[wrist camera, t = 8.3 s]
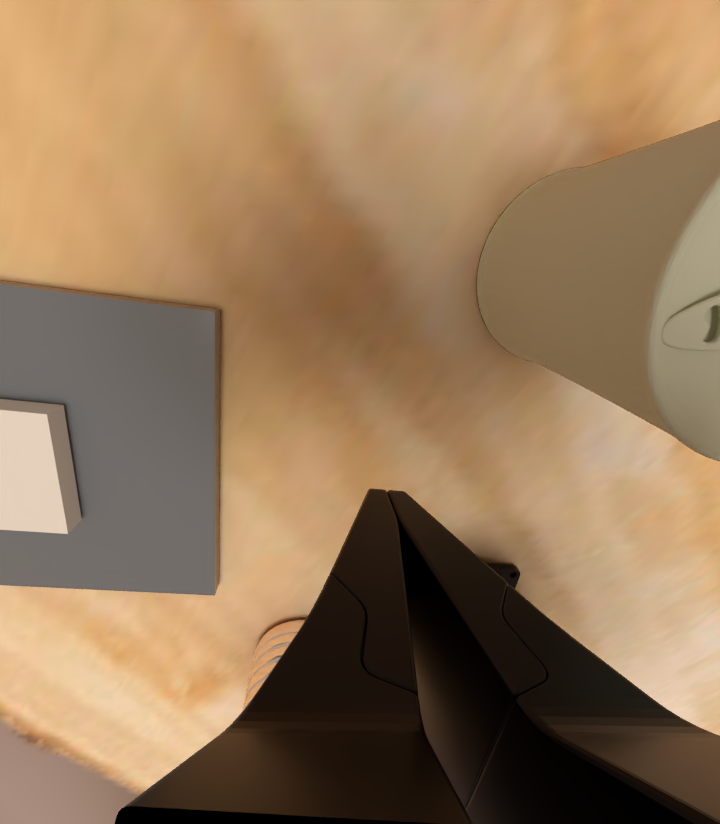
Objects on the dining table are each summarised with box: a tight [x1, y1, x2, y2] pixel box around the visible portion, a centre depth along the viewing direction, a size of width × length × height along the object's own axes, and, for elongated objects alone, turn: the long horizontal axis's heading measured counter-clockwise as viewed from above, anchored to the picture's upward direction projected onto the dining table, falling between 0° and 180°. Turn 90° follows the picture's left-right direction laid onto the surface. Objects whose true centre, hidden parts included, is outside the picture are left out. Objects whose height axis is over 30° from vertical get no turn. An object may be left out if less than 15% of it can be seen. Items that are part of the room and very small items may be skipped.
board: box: [0, 280, 220, 595], centre depth 21 cm, size 18×16×1 cm
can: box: [477, 120, 720, 461], centre depth 14 cm, size 9×9×12 cm
